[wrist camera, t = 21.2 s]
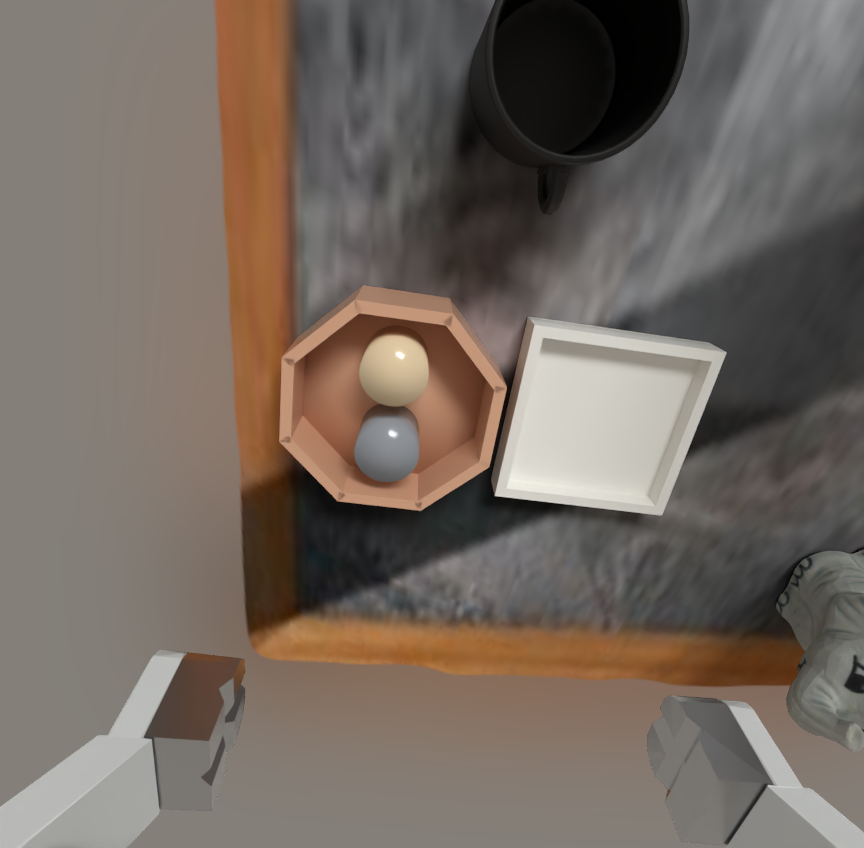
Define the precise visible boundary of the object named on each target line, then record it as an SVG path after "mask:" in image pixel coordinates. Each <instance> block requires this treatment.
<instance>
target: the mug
mask: <svg viewBox="0 0 864 848" xmlns="http://www.w3.org/2000/svg"><path fill="white" fill-rule="evenodd" d="M688 40H689V12H688V5H687V0H495V3H494V5H493V8H492V10H491V13H490V15H489V17H488V20H487V22H486V25H485V27H484V30H483V32H482V34H481V37H480V39H479V42H478V44H477V47H476V49H475V53H474V57H473V60H472V65H471V73H470V96H471V103H472V108H473V112H474V115H475V118H476V121H477V123H478V125H479V128H480V130H481V132H482V133H483V135H484V136H485V138H486V139H487V141H488V142H489V143H490V144H491V145H492V147H493V148H494V149H495V150H496V151H497V152H499V153H500V154H501V155H503V156H504V157H505V158H507V159H509V160H511V161H512V162H514V163H517V164H520V165H523V166H527V167H533V168H538V170H537V174H539V177H538V200H539V205H540V208H541V211H542V213H543V214H548V215H551V214H552V213H554V212H555V211H556V210H557V209H558V207H559V205H560V203H561V201H562V198H563V194H564V190H565V186H566V181H567V175H568V174H569V170H570V165H579V164H588V163H593V162H597V161H601V160H604V159H606V158H609V157H611V156H613V155H615V154H617V153H619V152H621V151H623V150H624V149H626V148H628V147H629V146H631V145H632V144H633V143H634V142H636V141H637V140H638V139H639V138H641V137H642V136H643V135H644V134H645V133H646V132H647V131H648V130H649V129H650V128H651V127H652V125H653V124H654V123H655V122H656V121H657V119H658V118H659V117H660V115H661V114H662V112H663V111H664V109H665V108H666V106H667V105H668V103H669V101H670V99H671V97H672V95H673V94H674V92H675V89H676V87H677V84H678V82H679V79H680V77H681V74H682V71H683V67H684V63H685V59H686V55H687V48H688Z"/></svg>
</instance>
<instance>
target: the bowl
mask: <svg viewBox="0 0 864 848" xmlns="http://www.w3.org/2000/svg"><path fill="white" fill-rule="evenodd" d="M394 325H398V326H404V327H407V328H410V329H412V330H414V331H415V332H416V333H418V334H419V335H420V336H421V338H422V339H423V340H424V342H425V344H426V346H427V350H428V368H429V377H428V383H427V386H426V388H425V390H424V391H423V393H422V394H421V395H420V396H419V397H418V398H417V399H416V400H415V401H413V402H411V403H409V404H407V405H403V406H404V407H406V408H408V409H409V410H410V411H411V412H412V413H413V414H414V415H415V417H416V419H417V421H418V424H419V459H418V463H417V465H416V467H415V469H414V470H413V471H412V472H411V473H410V474H409V475H408V476H407V477H405V478H403V479H401V480H398V481H394V482H381V481H377V480H374V479H372V478H370V477H368V476H367V475H365V474H364V473H363V472H362V471H361V470H360V469H359V467H358V465H357V463H356V461H355V456H354V449H355V445H356V441H357V437H358V433H359V429H360V425H361V421H362V419H363V416H364V415H365V414H366V412H367V411H368V410H370V409H371V408H372V407H374V406H376V405H378V404H380V403H378V402H376V401H375V400H373V399H372V398H371V397H370V396H369V395H368V394H367V393H366V392H365V390H364V389H363V387H362V385H361V382H360V377H359V369H360V364H361V361H362V358H363V355H364V353H365V350H366V347H367V344H368V342H369V340H370V339H371V337H372V336H373V335H374V334H375V333H376V332H377V331H379V330H381V329H382V328H385V327H388V326H394ZM506 390H507V386H506V384H505V381H504V379H503V377H502V374H501V372H500V369H499V367H498V364H497V363H496V361H495V360H494V359H493V357H492V356H491V355H490V353H489V352H488V350H487V349H486V348H485V346H484V345H483V343H482V342H481V341H480V339H479V338H478V337H477V335H476V334H475V332H474V331H473V330H472V328H471V327H470V325H469V324H468V323H467V321H466V320H465V319H464V317H463V316H462V314H461V313H460V312H459V310H458V309H457V307H456V306H455V305H454V303H453V302H452V301H451V299H450V298H447V297H440V296H433V295H427V294H420V293H413V292H406V291H399V290H392V289H386V288H379V287H372V286H365V285H363V286H362V287H360V288H359V289H358V290H357V291H355V292H354V293H353V294H351V295H350V296H349V297H348V298H346V299H345V300H344V301H343V302H341V303H340V304H339V305H338V306H336V307H335V308H334V309H332V310H331V311H330V312H329V313H327V314H326V315H325V316H324V317H322V318H321V319H320V320H318V321H317V322H316V323H315V324H313V325H312V326H311V327H310V328H308V329H307V330H306V331H305V332H303V333H302V334H301V335H299V336H298V337H297V339H296V340H295V341H294V343H293V344H292V345H291V346H290V348H289V349H288V350H287V351H286V353H285V354H284V355H283V356H282V369H281V402H280V436H279V442H280V443H281V444H282V445H283V446H284V447H285V448H286V449H287V450H288V451H289V452H290V453H291V454H292V455H293V456H294V457H295V458H296V459H297V460H298V461H299V462H300V463H301V464H302V465H303V466H304V467H305V468H306V469H307V470H308V471H309V472H310V473H311V474H312V476H313V477H314V478H315V479H316V480H317V481H318V482H319V483H320V484H321V485H322V486H323V487H324V488H325V489H326V490H327V491H328V492H329V493H330V494H331V495H332V496H333V497H334V498H335V499H336V500H337V501H340V502H348V503H357V504H366V505H375V506H384V507H392V508H401V509H410V510H419V511H421V510H423V509H424V508H426V507H427V506H429V505H430V504H432V503H434V502H435V501H437V500H438V499H440V498H441V497H443V496H445V495H446V494H448V493H449V492H451V491H452V490H454V489H456V488H457V487H459V486H460V485H462V484H464V483H465V482H467V481H468V480H470V479H471V478H473V477H475V476H476V475H478V474H479V473H481V472H482V471H484V470H486V469H487V468H489V466H490V462H491V457H492V453H493V448H494V444H495V439H496V435H497V430H498V426H499V421H500V417H501V412H502V408H503V403H504V399H505V394H506Z"/></svg>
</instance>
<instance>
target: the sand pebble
mask: <svg viewBox="0 0 864 848" xmlns="http://www.w3.org/2000/svg"><path fill="white" fill-rule="evenodd" d="M359 377H360V382H361V385H362V387H363V389H364V390H365V392H366V393H367V394H368V395H369V396H370V397H371V398H372V399H373V400H375V401H376V402H378V403H380V404H383V405H386V406H403V405H407V404H409V403H411V402H413V401H415V400H416V399H417V398H418V397H419V396H420V395H421V394H422V393H423V391H424V390H425V388H426V386H427V383H428V377H429V368H428V350H427V346H426V344H425V342H424V340H423V339H422V338H421V336H420V335H419V334H418V333H416V332H415V331H414V330H412V329H410V328H407V327H404V326H398V325H394V326H388V327H385V328H382V329H381V330H379V331H377V332H376V333H375V334H374V335H373V336H372V337H371V339H370V340H369V342H368V344H367V347H366V350H365V353H364V355H363V358H362V361H361V364H360V369H359Z"/></svg>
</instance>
